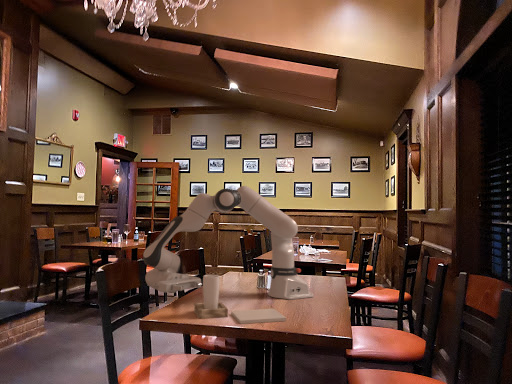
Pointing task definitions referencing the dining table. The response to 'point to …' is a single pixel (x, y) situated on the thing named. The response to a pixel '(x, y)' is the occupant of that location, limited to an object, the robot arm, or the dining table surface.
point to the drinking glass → (211, 291)
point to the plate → (257, 316)
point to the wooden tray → (210, 311)
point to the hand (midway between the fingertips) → (191, 287)
